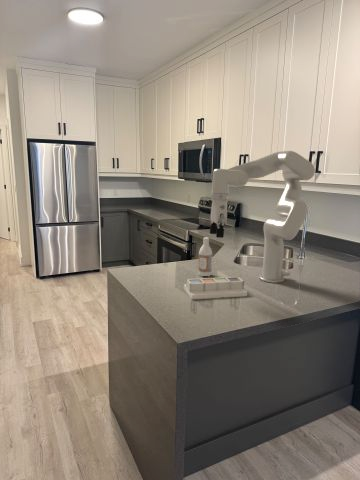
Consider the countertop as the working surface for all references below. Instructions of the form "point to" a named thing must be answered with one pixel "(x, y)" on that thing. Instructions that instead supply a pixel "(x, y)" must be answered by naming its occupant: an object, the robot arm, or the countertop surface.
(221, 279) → the key
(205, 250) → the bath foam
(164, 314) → the countertop surface
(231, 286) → the white compartment tray
